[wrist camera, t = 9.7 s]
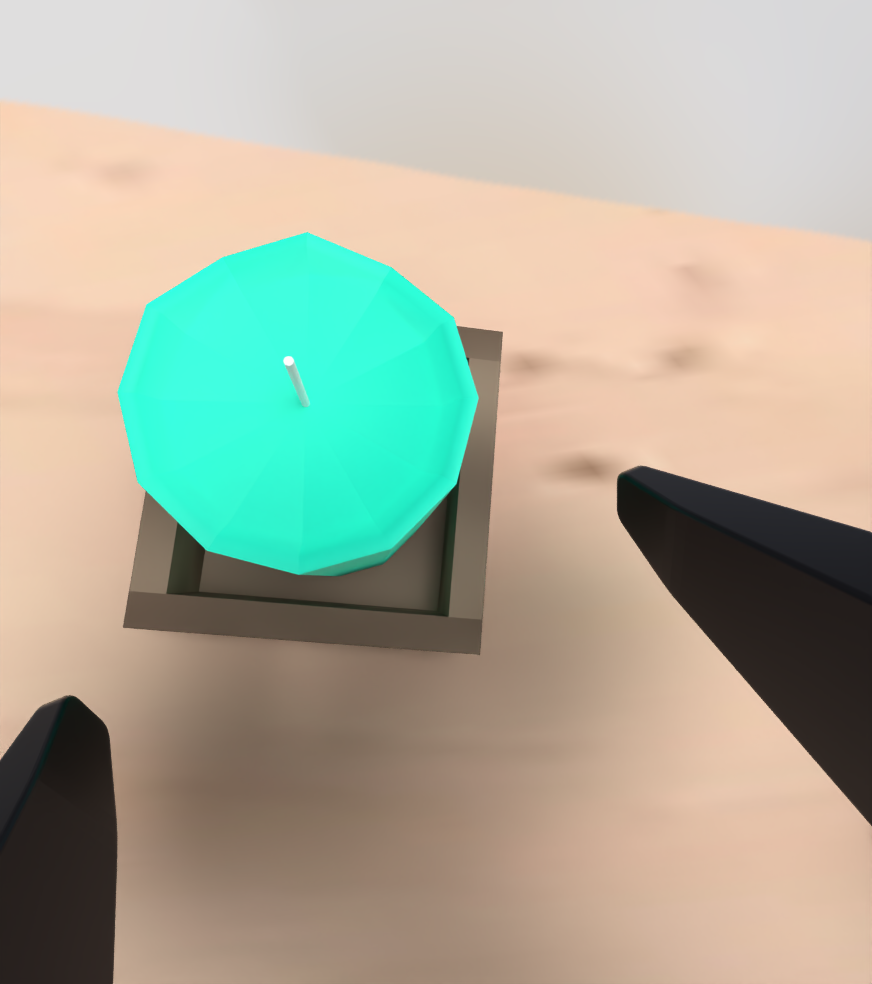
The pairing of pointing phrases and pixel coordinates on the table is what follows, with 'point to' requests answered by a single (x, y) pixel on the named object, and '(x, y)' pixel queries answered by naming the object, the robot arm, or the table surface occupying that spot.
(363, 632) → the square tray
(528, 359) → the table surface
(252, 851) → the table surface
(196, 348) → the candle
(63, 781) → the robot arm
